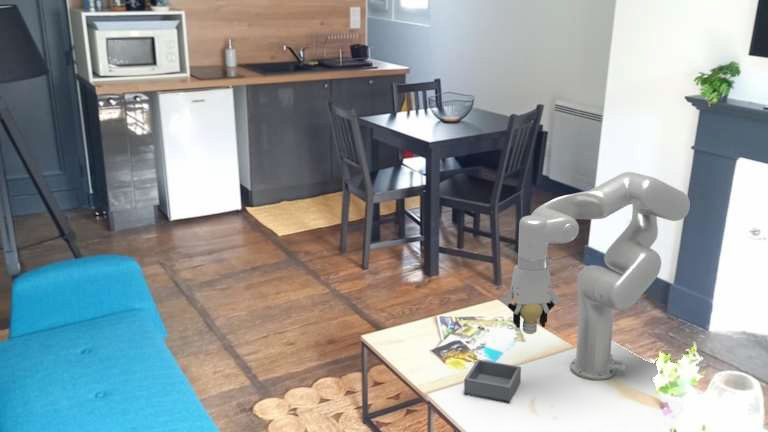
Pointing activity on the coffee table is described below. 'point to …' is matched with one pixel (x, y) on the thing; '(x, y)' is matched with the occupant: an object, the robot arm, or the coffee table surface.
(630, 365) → the coffee table surface
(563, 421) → the coffee table surface
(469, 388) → the bin
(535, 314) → the light bulb
